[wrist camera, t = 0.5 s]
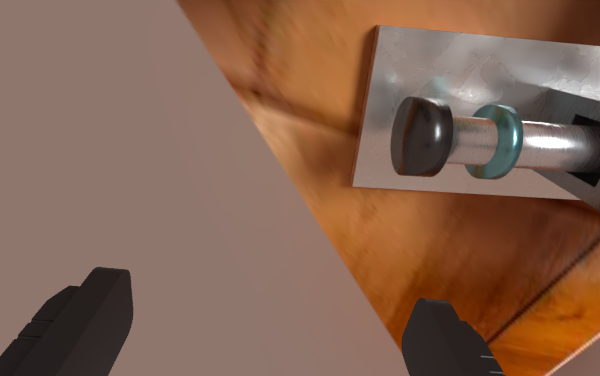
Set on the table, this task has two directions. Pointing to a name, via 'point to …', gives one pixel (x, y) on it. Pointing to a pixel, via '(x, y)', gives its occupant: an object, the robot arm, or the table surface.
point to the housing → (477, 103)
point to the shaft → (486, 141)
